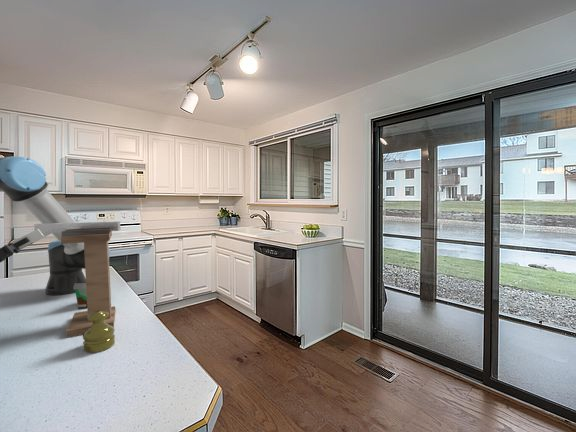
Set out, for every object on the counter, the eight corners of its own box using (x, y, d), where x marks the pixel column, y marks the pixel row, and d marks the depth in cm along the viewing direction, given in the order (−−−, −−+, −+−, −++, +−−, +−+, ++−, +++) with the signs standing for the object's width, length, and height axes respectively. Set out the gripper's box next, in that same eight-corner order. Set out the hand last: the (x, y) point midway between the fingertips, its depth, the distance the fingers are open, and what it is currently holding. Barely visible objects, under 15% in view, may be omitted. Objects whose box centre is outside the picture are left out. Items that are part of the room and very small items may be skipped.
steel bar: (39, 232, 97) (39, 223, 97) (120, 229, 103) (120, 221, 103) (34, 233, 94) (34, 224, 94) (118, 230, 100) (117, 222, 100)
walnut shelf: (75, 318, 100) (69, 227, 98) (115, 311, 106) (111, 225, 104) (66, 337, 86) (60, 232, 84) (113, 328, 92) (108, 229, 90)
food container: (88, 311, 107) (87, 284, 106) (74, 310, 108) (73, 283, 107) (114, 299, 119) (113, 275, 118) (102, 298, 120) (100, 274, 119)
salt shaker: (86, 343, 83) (85, 308, 82) (116, 338, 86) (115, 304, 85) (80, 356, 76) (78, 318, 76) (113, 349, 79) (111, 314, 79)
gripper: (-5, 271, 97) (62, 235, 105) (-44, 293, 75) (44, 245, 83) (-22, 253, 95) (48, 218, 103) (-68, 270, 73) (26, 223, 81)
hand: (46, 230), depth 93 cm, fingers open, 13 cm apart
